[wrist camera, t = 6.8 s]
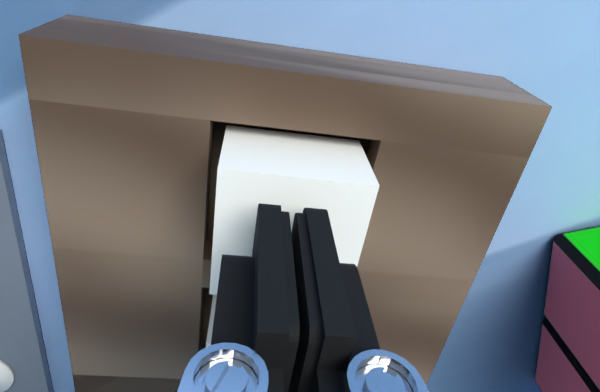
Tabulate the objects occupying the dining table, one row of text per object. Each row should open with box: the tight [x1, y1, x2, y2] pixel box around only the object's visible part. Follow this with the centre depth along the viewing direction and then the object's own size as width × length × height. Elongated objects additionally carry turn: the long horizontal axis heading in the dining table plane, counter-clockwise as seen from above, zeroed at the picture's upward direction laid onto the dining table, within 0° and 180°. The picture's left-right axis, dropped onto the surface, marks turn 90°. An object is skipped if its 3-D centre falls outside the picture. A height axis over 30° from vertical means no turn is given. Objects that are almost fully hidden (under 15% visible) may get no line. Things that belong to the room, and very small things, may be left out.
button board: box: [19, 15, 552, 392], centre depth 18 cm, size 20×14×3 cm
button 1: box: [209, 125, 380, 295], centre depth 13 cm, size 4×4×3 cm
